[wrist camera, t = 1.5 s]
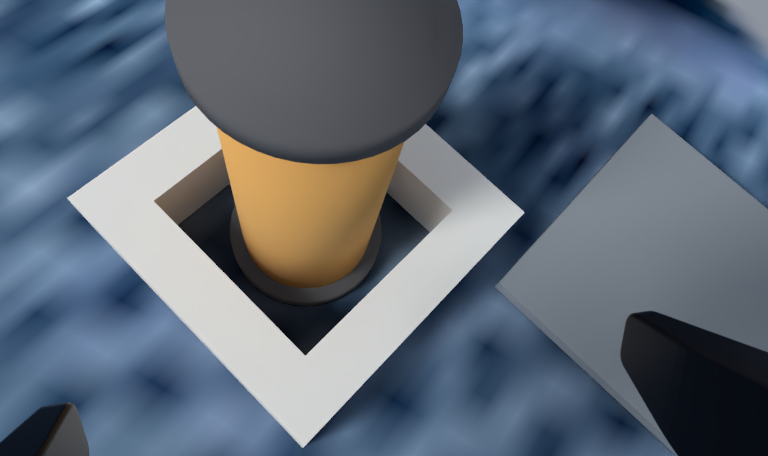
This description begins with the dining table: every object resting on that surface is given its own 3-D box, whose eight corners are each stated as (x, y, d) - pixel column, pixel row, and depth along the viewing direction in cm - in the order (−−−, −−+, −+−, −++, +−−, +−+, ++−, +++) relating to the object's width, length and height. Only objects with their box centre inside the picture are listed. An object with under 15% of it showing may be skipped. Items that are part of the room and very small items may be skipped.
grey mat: (850, 290, 27) (862, 287, 26) (726, 502, 22) (737, 503, 22) (644, 120, 28) (651, 113, 28) (494, 286, 24) (498, 282, 24)
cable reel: (408, 237, 24) (519, 29, 12) (304, 337, 22) (316, 206, 10) (308, 143, 25) (322, -135, 13) (200, 231, 23) (98, -4, 11)
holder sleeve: (499, 238, 25) (524, 212, 22) (302, 447, 21) (303, 447, 18) (310, 67, 27) (312, 22, 24) (94, 229, 23) (67, 198, 20)
